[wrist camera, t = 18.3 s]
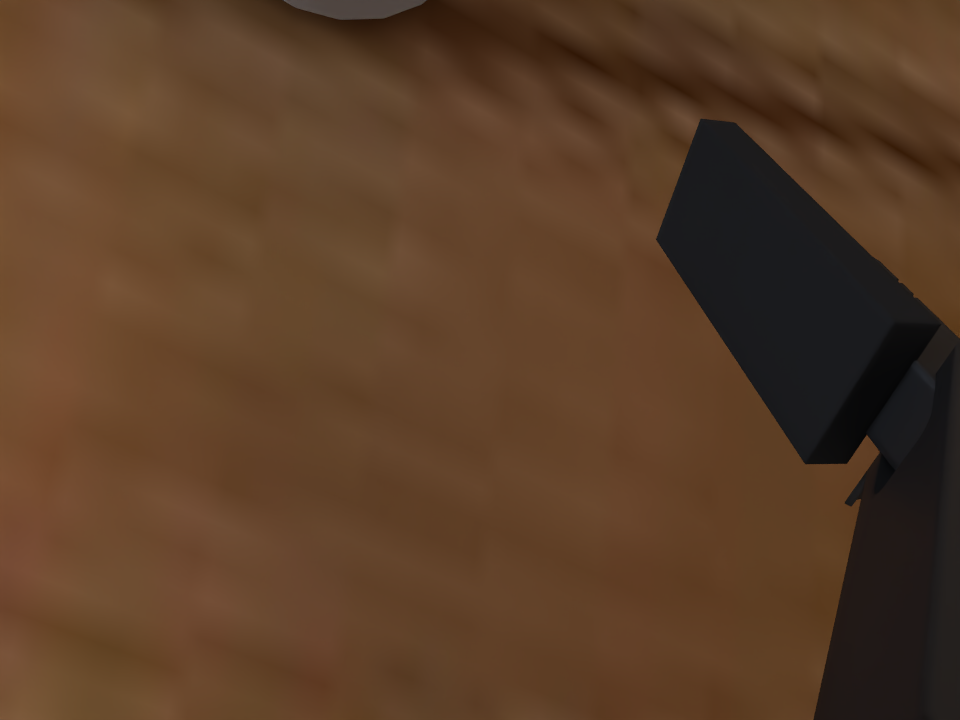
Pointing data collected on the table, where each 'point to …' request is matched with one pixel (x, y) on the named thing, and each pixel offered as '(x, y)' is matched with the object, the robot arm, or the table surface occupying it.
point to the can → (355, 7)
